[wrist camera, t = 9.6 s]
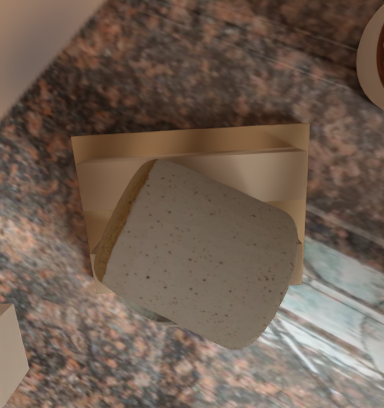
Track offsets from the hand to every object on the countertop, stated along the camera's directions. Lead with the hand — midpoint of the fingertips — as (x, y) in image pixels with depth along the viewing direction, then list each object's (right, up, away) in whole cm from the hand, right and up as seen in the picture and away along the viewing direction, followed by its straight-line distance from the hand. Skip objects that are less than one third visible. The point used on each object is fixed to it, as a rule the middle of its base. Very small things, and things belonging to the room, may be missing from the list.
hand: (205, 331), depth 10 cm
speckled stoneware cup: (-1, +2, +10) cm, 10 cm away
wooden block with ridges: (0, +4, +13) cm, 14 cm away
